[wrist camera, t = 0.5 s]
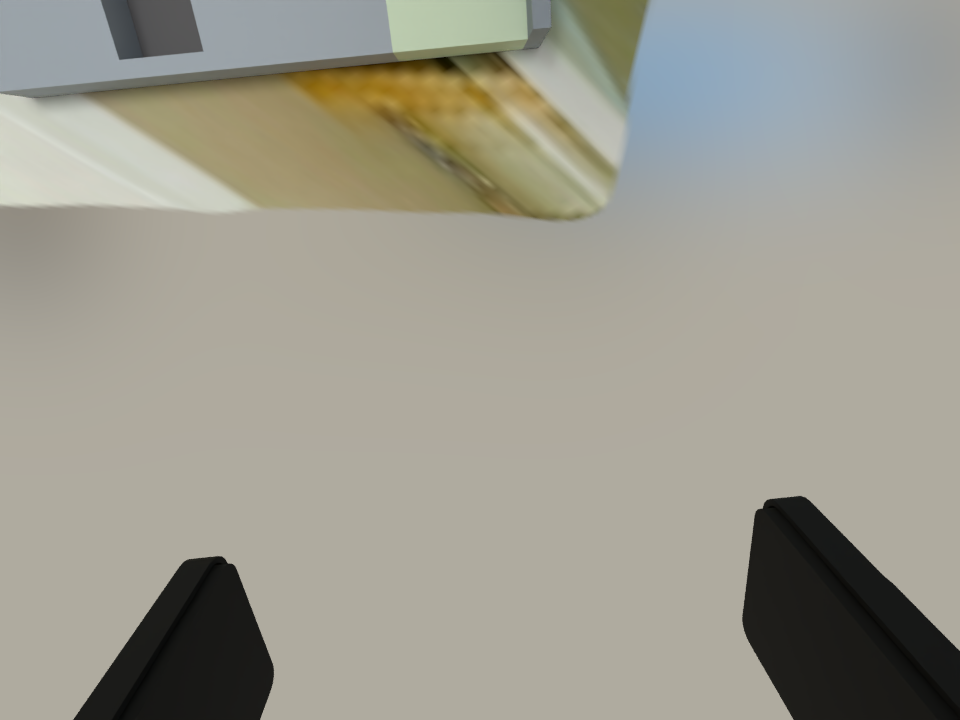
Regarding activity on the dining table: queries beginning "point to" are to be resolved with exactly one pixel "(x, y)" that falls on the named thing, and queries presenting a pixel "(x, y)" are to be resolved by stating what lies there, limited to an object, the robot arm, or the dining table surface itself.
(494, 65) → the dining table surface
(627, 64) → the dining table surface
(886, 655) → the robot arm
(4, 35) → the board
